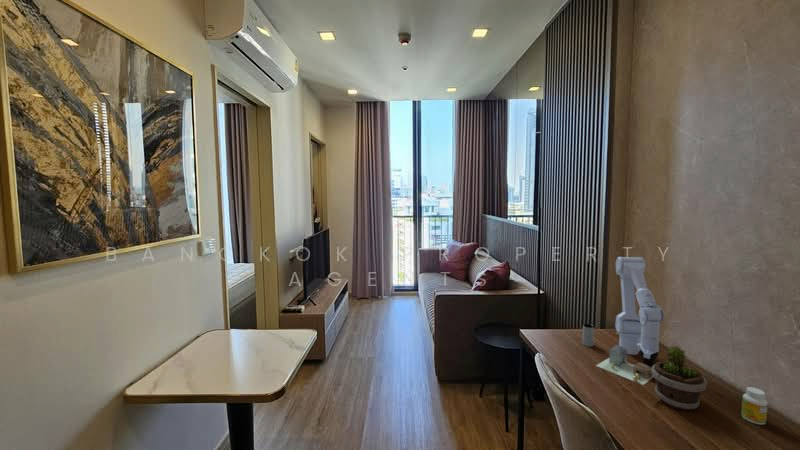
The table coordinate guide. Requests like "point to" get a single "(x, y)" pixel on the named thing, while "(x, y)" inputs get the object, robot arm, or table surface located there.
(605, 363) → the base
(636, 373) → the stubs
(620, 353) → the grey block
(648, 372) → the cover
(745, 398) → the supplement bottle
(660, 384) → the flowerpot
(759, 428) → the table surface
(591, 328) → the grey cylinder
